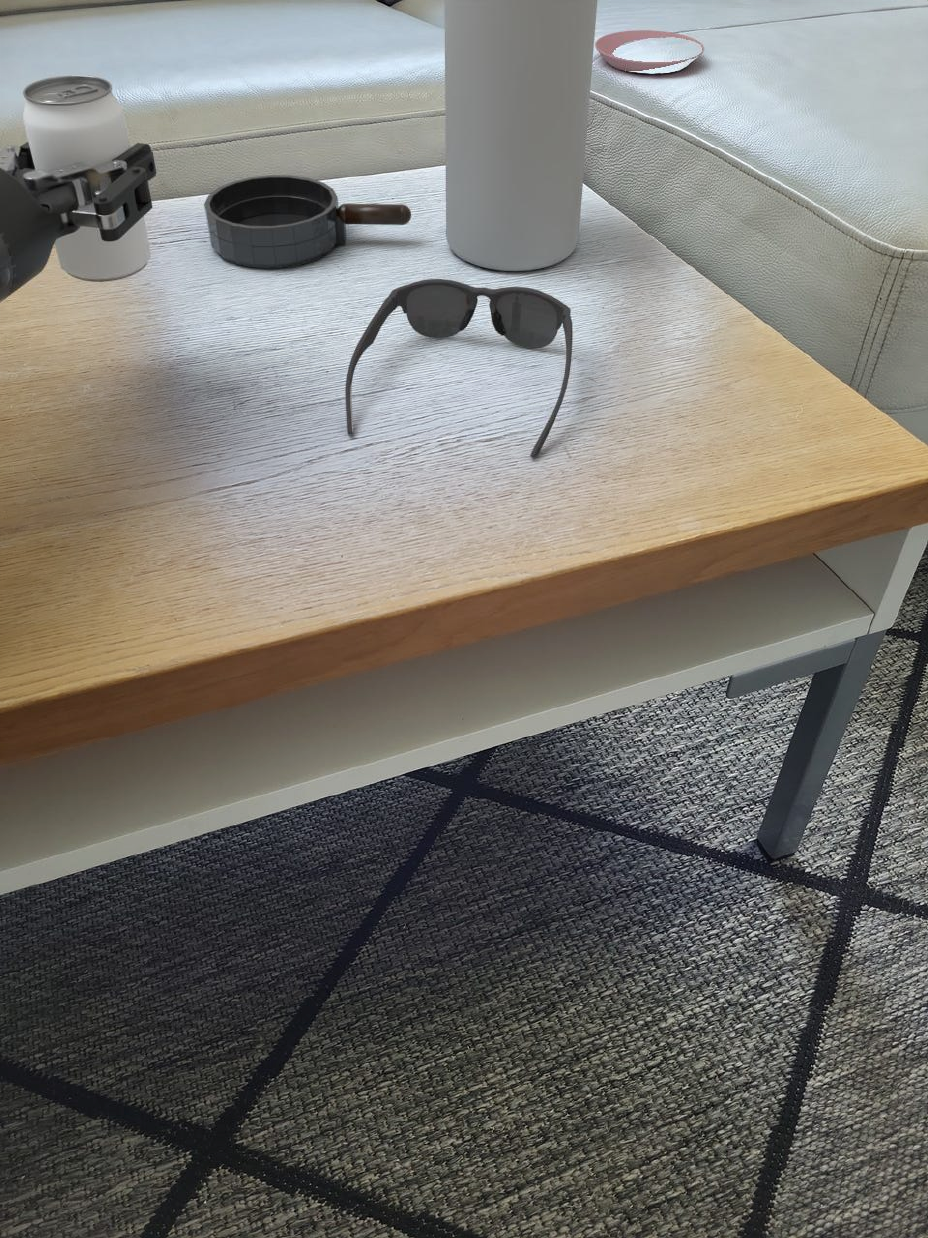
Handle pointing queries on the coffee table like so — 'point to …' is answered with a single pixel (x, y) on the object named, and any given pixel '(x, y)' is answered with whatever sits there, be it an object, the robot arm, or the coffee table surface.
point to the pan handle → (370, 216)
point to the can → (94, 134)
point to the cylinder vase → (516, 128)
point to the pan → (272, 220)
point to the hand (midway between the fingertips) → (102, 151)
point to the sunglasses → (449, 311)
